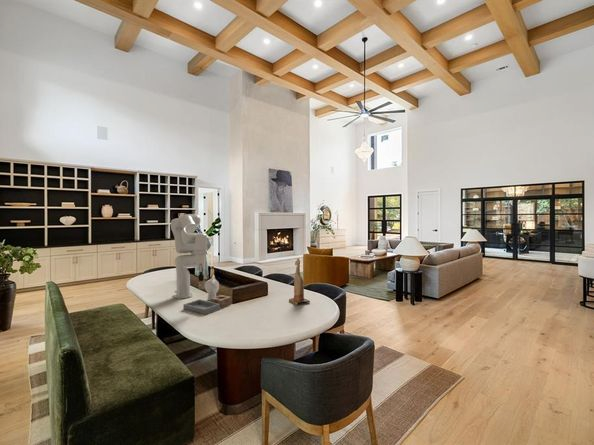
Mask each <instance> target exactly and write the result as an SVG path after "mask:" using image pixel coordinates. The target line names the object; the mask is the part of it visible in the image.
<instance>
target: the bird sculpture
mask: <svg viewBox="0 0 594 445" xmlns="http://www.w3.org/2000/svg"><path fill="white" fill-rule="evenodd" d="M294 265H295V266H296V268H295V274H294V281H293V298H289V299H288V303H290V304H292V305H295V306H296V307H297V305H298V304H299V303H302V302H307V303H308V304H310V302H311V301H310V300H309V299H306V298H305V291H304V290H305V289H304V288H305V285H304V284H305V283H304V279H303V277H302V276H301V271H300V266H301V260H300V258H298V257H297V259H296V260H295V262H294Z"/></svg>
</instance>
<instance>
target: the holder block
mask: <svg viewBox="0 0 594 445" xmlns="http://www.w3.org/2000/svg"><path fill="white" fill-rule="evenodd" d="M232 301H233V299H232V296H228V295H224V294H223V295H222V294H219V295H216V297H214V298H211V301H210V302H213V303H218V304H220V309H223V308H225V307H227V306H231V305H232V304H233V302H232Z"/></svg>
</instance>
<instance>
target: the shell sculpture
mask: <svg viewBox="0 0 594 445" xmlns="http://www.w3.org/2000/svg"><path fill="white" fill-rule="evenodd" d="M204 283H205V289H204V290H205V291H206V292H207V301H209V302H211V298H214V297H217V293H218V292H219V289H220V283H219V281H218V280H216V277H215V274H212V276H211V277H210V279H209V280H207V281H204Z"/></svg>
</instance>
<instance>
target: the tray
mask: <svg viewBox="0 0 594 445" xmlns="http://www.w3.org/2000/svg"><path fill="white" fill-rule="evenodd" d="M219 310H221V308H220V304H218V303H213V302H211V301H210V300H203V299H196V300H193V301H191V302H187V303H184V304H183V311H187V312H192V313H196V314H199V315H203V316H206V315H208V314H211V313H214V312H216V311H219Z"/></svg>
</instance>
